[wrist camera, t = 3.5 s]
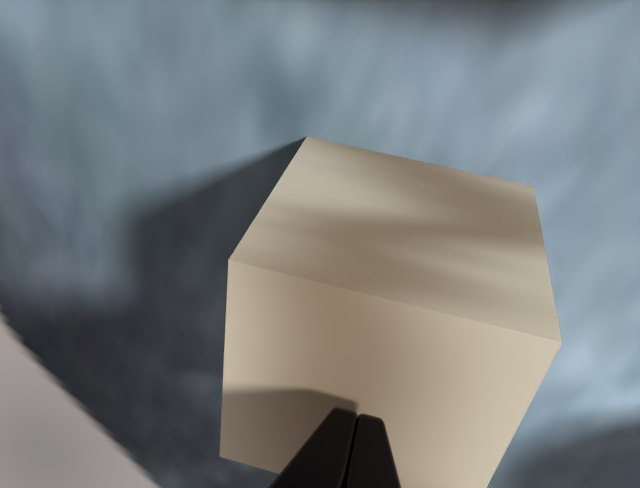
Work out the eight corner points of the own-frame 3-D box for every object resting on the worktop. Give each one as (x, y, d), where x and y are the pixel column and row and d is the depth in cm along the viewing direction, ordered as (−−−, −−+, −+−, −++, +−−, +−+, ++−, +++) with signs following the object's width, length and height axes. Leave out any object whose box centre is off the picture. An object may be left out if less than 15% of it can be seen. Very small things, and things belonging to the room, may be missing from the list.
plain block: (533, 184, 12) (562, 342, 8) (468, 349, 15) (465, 527, 11) (307, 135, 13) (228, 259, 9) (286, 303, 16) (219, 456, 11)
